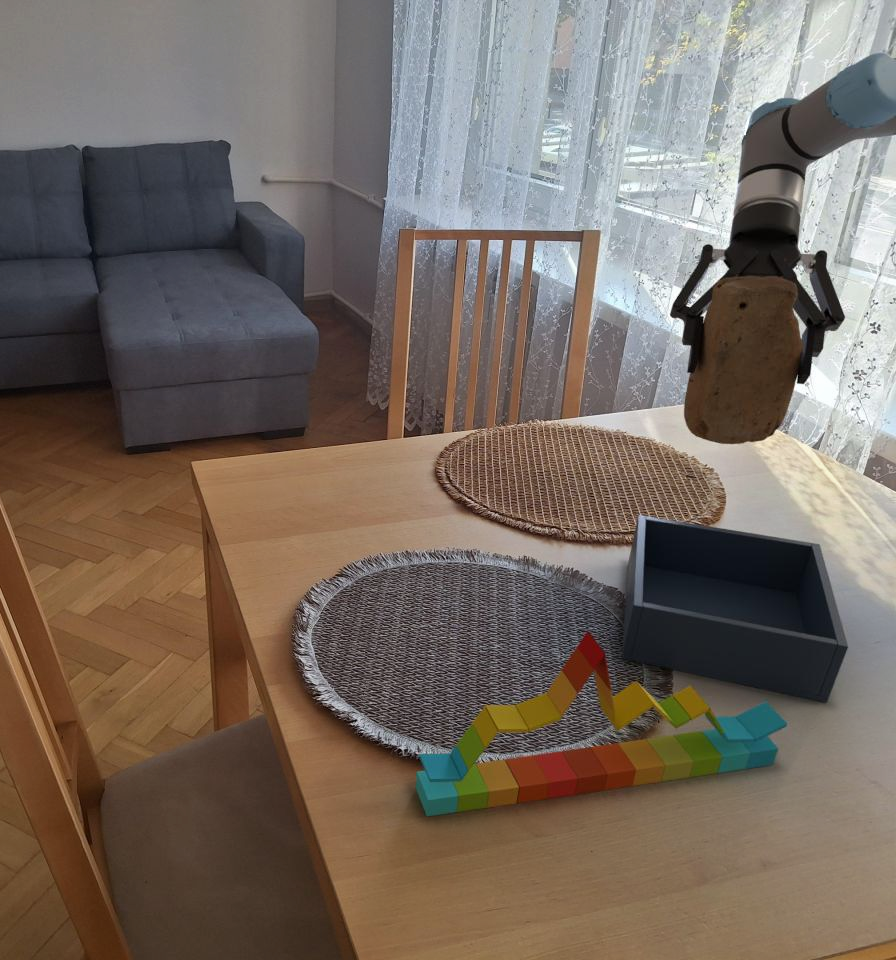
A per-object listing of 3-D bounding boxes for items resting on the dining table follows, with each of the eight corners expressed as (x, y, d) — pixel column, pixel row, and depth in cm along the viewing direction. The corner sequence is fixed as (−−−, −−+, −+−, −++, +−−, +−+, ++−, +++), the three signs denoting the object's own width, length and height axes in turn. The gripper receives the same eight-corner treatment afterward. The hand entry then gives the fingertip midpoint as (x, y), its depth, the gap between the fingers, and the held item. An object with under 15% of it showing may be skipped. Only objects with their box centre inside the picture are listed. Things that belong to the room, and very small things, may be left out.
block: (691, 445, 108) (727, 288, 98) (675, 420, 114) (707, 271, 105) (784, 448, 106) (830, 289, 97) (762, 422, 113) (803, 271, 103)
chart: (748, 737, 75) (794, 599, 68) (772, 764, 73) (823, 624, 65) (414, 785, 72) (425, 646, 65) (426, 816, 69) (439, 674, 62)
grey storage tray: (802, 595, 93) (819, 543, 90) (827, 703, 79) (848, 647, 75) (627, 563, 99) (638, 514, 96) (621, 658, 85) (633, 604, 82)
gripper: (865, 238, 108) (850, 397, 103) (660, 228, 116) (637, 375, 111) (887, 202, 101) (872, 371, 96) (668, 195, 110) (644, 350, 105)
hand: (746, 373), depth 104 cm, fingers closed on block, 11 cm apart
